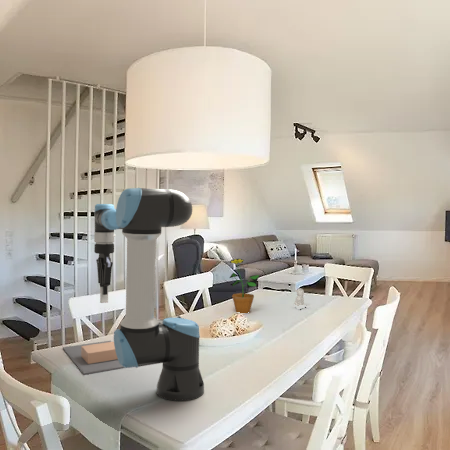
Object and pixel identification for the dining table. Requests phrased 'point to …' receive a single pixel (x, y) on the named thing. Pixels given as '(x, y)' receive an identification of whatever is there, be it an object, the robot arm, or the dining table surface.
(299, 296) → the seated beast figurine
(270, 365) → the dining table surface
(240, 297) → the potted plant
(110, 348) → the tan and teal block
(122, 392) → the dining table surface
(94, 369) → the mat
